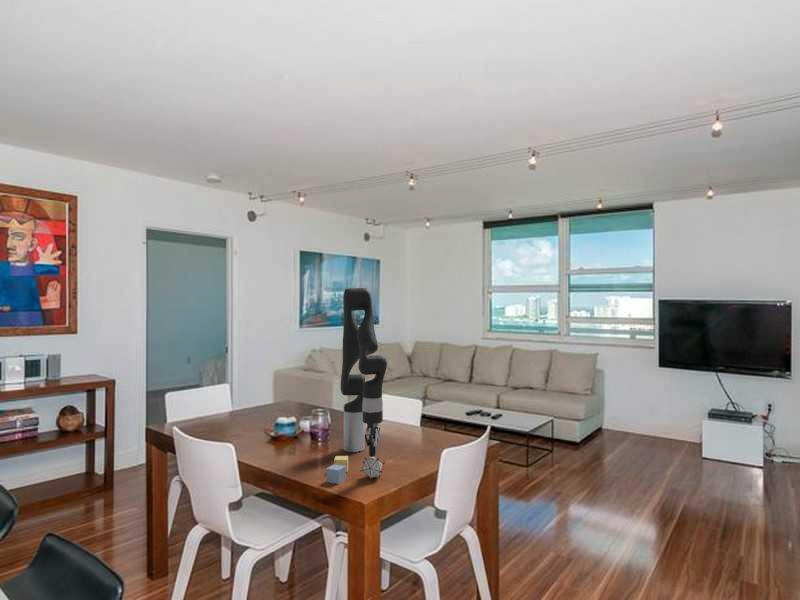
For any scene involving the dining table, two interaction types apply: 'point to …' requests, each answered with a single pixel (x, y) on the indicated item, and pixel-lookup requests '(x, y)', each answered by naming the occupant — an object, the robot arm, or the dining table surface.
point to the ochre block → (341, 461)
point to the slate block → (336, 474)
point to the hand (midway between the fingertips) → (372, 456)
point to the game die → (372, 467)
